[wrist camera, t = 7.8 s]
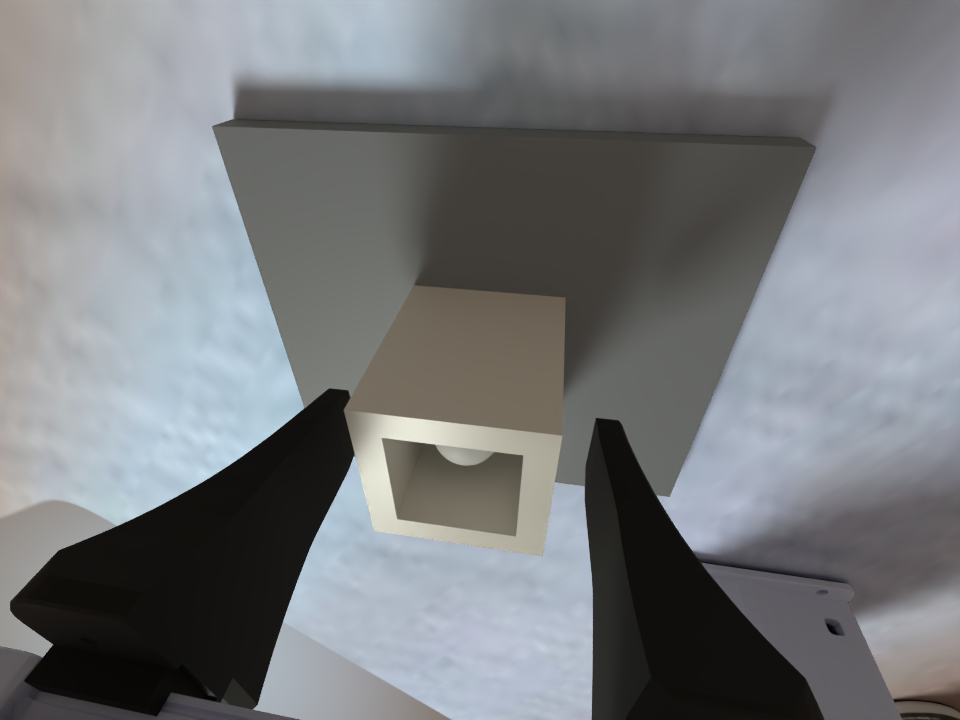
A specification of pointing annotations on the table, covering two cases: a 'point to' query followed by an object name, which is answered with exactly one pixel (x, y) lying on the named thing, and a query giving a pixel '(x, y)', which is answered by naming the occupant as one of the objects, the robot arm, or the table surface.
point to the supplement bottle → (925, 711)
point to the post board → (522, 253)
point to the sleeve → (464, 418)
